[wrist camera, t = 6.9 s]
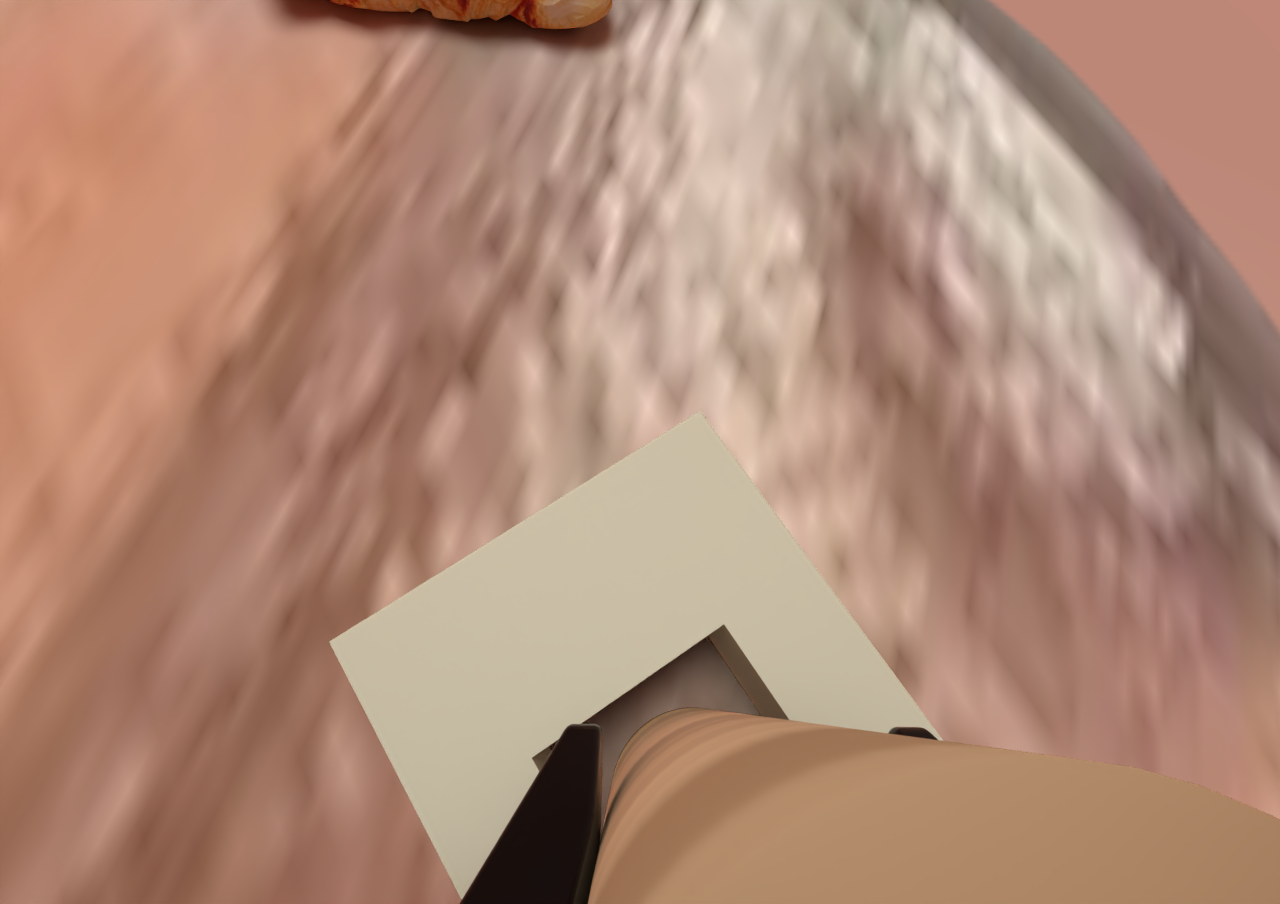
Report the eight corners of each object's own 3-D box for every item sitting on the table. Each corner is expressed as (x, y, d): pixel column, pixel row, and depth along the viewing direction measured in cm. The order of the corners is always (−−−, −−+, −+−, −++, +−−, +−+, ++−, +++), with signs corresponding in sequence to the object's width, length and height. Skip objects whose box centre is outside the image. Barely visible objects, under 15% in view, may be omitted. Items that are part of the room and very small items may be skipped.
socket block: (1018, 914, 18) (1109, 965, 14) (677, 1210, 16) (691, 1348, 12) (689, 455, 21) (700, 410, 18) (380, 650, 19) (328, 642, 16)
